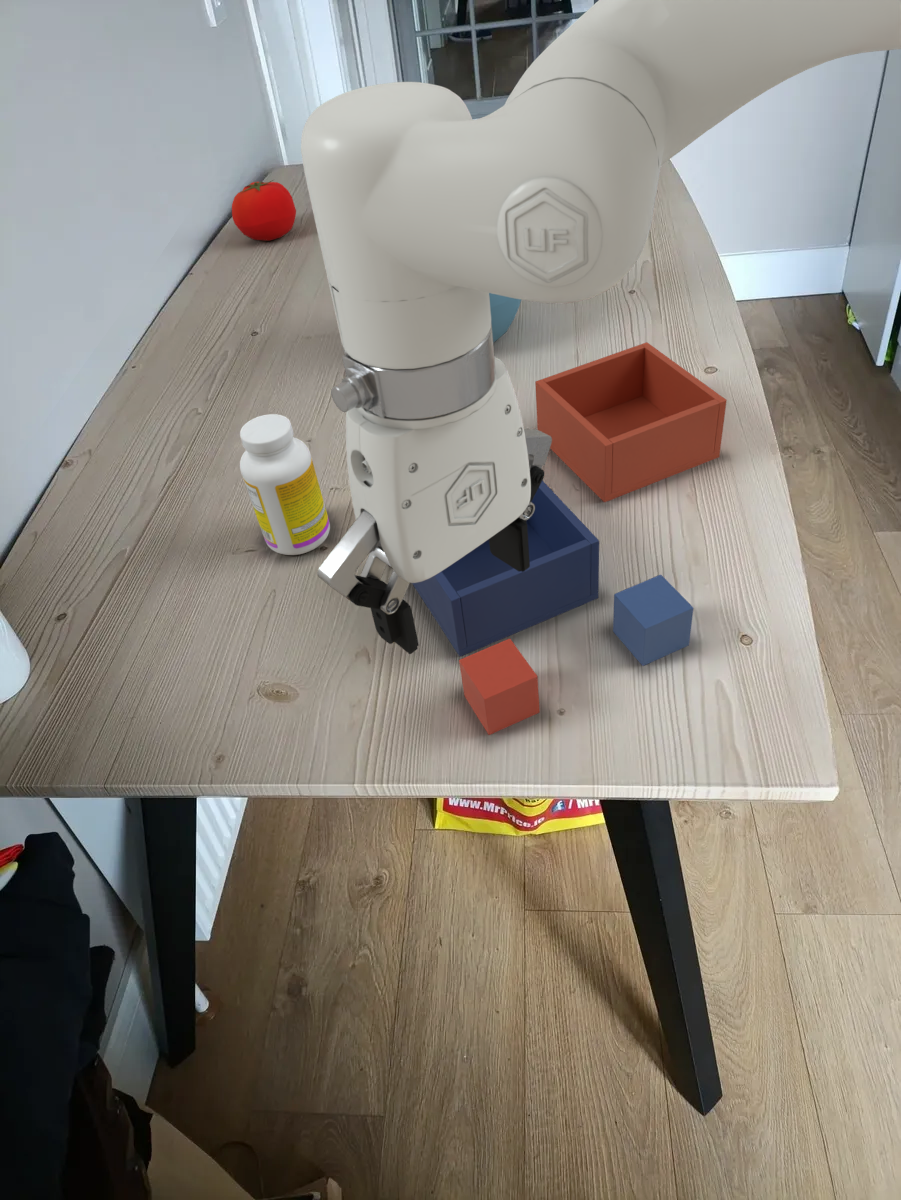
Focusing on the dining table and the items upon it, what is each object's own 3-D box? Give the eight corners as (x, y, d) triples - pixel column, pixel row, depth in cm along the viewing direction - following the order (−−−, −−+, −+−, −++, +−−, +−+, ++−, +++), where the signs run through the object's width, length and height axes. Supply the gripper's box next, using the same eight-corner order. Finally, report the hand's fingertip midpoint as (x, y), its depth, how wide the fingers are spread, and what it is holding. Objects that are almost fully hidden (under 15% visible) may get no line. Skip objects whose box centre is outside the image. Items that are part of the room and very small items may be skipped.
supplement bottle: (340, 517, 89) (312, 409, 80) (318, 561, 85) (286, 451, 76) (280, 512, 91) (246, 405, 82) (255, 555, 87) (216, 447, 78)
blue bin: (525, 514, 86) (521, 458, 82) (598, 598, 77) (599, 540, 72) (399, 563, 83) (387, 508, 79) (459, 657, 74) (451, 601, 69)
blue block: (657, 611, 75) (660, 574, 72) (689, 645, 72) (693, 607, 69) (612, 631, 74) (613, 593, 71) (642, 666, 71) (645, 628, 68)
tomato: (312, 231, 142) (300, 178, 136) (259, 255, 138) (245, 200, 132) (280, 219, 148) (267, 166, 142) (228, 241, 143) (213, 188, 137)
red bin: (643, 396, 99) (646, 341, 94) (719, 457, 89) (726, 399, 85) (537, 436, 96) (534, 381, 91) (604, 502, 86) (605, 445, 82)
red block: (513, 674, 72) (510, 637, 69) (539, 712, 69) (537, 676, 66) (464, 696, 71) (458, 659, 68) (488, 735, 68) (484, 699, 65)
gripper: (329, 472, 39) (390, 708, 51) (590, 318, 46) (590, 557, 58) (241, 413, 43) (316, 643, 56) (492, 280, 51) (510, 510, 63)
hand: (456, 599), depth 57 cm, fingers open, 9 cm apart
